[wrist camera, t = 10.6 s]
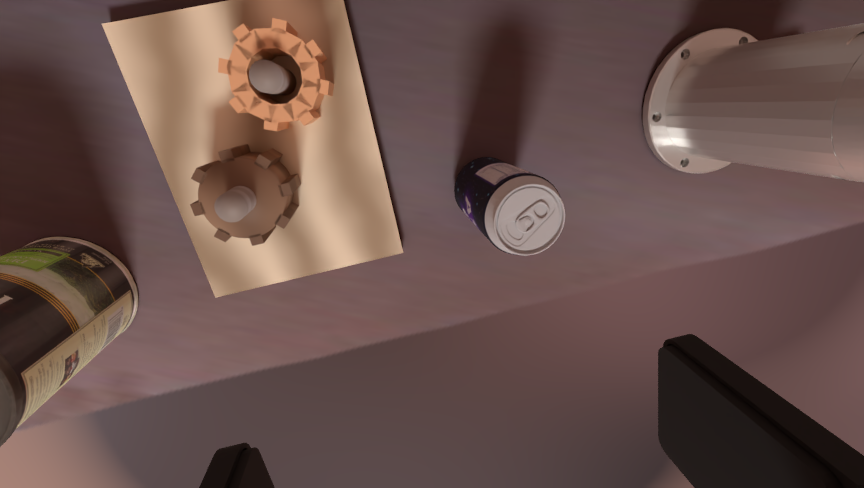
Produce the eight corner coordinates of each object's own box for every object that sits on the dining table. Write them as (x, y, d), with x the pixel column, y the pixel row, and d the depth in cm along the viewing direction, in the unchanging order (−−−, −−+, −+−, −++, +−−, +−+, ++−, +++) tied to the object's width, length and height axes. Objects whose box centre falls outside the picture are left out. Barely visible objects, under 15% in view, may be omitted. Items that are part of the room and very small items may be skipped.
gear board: (339, -16, 32) (330, -56, 24) (402, 248, 39) (411, 284, 32) (111, 26, 31) (23, -1, 23) (219, 291, 38) (181, 340, 30)
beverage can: (440, 183, 38) (470, 215, 27) (489, 143, 38) (541, 158, 26) (476, 228, 40) (519, 277, 29) (523, 190, 39) (586, 224, 28)
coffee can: (-14, 238, 34) (-257, 323, 21) (124, 233, 35) (-20, 308, 22) (25, 349, 37) (-165, 484, 24) (150, 340, 39) (37, 462, 25)
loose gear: (293, 9, 31) (281, -6, 27) (352, 94, 34) (349, 92, 29) (217, 66, 32) (194, 60, 27) (280, 145, 34) (268, 151, 30)
